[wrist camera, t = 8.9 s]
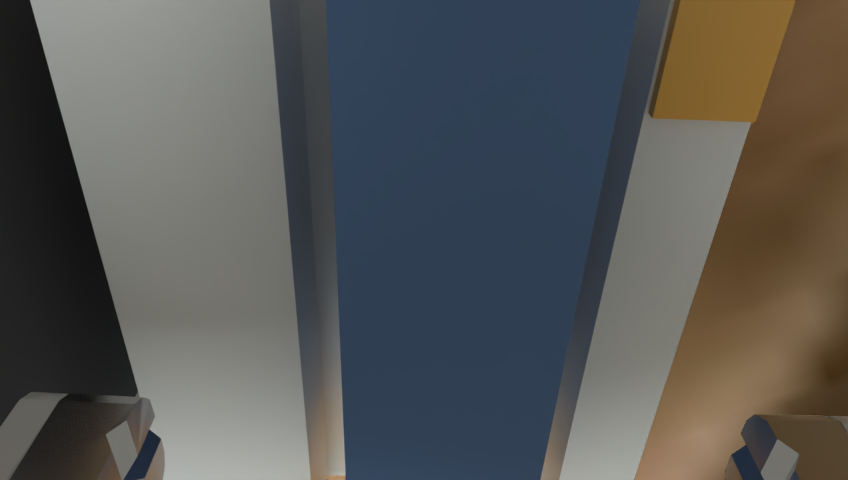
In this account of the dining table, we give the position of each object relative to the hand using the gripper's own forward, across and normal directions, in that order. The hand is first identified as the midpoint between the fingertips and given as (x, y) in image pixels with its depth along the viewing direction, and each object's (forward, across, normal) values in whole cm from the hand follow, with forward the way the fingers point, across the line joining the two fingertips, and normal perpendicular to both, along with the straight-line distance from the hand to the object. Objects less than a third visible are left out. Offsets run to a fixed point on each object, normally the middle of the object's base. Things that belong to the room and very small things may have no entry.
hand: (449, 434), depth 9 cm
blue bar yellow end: (+4, 0, 0) cm, 4 cm away
